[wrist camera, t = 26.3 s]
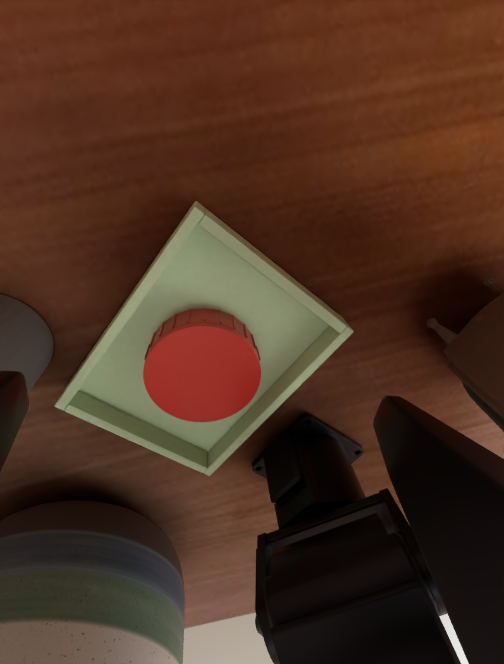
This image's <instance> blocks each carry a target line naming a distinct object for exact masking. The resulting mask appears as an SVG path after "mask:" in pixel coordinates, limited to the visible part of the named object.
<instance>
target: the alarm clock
mask: <svg viewBox="0 0 504 664" xmlns="http://www.w3.org/2000/svg"><path fill="white" fill-rule="evenodd" d="M484 285H485V286H486V287H490V288H491V289H492V290H493V292H494V293H495V294H496V295H497V298H495V299H494V300H493V301H491V302H490V303H489V304H487V305H486V306H485V307H484V308H483V309H481V310H480V311H479V312H478V313H477V314H476V315H475V316H474V317H473V318H472V319H471V320H470V321H469V323H468V324H467V325H466V326H465V327H464V328H463V329H462V331H461V332H460V333H459V334H458V335H457V334H456V333H454V332H452V331H450V330H449V329H447V328H445V327H443V326H442V325H440V324H438V321H437V320H436V319H435V318H430V319H428V320H427V323H426V324H427V326H428V327H430V328H433V329H434V330H435V331H436V332H437V333H438V335H439V336H440V337H441V338H442V339H443V340H444V341H445V343H446V344H447V345H448V346H447V347H446V348H445V350H444V351H443V352H444V354H445V355H446V356H447V358H448V367H449V368H450V369H451V370H452V371H453V372H454V373H455V374H456V375H457V376H458V377H459V378H460V379H461V380H462V382H463V386H464V388H465V390H466V391H467V393H468V394H469V396H470V397H471V398H472V399H473V400H474V401H475V403H476V404H477V405H478V406H479V407H480V408H481V409H482V410H483V411H484V412H485V413H486V414H487V415H488V416H489V417H490V418H491V419H492V420H493V421H494V422H495V423H496V424H497V425H498V426H499V427H500V428H501V429H502V430H503V431H504V287H502V286H501V285H499V284H497V283H495V279H494V278H492V277H488V278H486V279H485V280H484Z"/></svg>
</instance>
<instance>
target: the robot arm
mask: <svg viewBox="0 0 504 664" xmlns="http://www.w3.org/2000/svg"><path fill="white" fill-rule="evenodd" d="M28 405H29V398H28V392H27V386H26V379H25V376H24V374H23V373H22V372H20V371H6V370H4V371H0V471H1V469H2V466H3V464H4V462H5V460H6V458H7V456H8V453H9V451H10V449H11V446H12V444H13V442H14V440H15V437H16V435H17V433H18V430H19V428H20V426H21V424H22V421H23V419H24V417H25V415H26V412H27V410H28ZM306 420H308V421H306ZM305 421H306V422H305ZM374 429H375V432H376V436H377V439H378V442H379V445H380V448H381V452H382V455H383V458H384V461H385V464H386V468H387V471H388V474H389V476H390V479H391V482H392V484H393V487H394V489H395V491H396V494H397V496H398V499H399V501H400V503H401V506H402V508H403V510H404V513H405V515H406V517H407V520H408V522H409V524H410V526H409V524H408V522H407V521H406V519H405V517H404V515H403V514H402V512H401V510H400V509H399V507H398V505H397V504H396V502H395V500H394V499H393V497H392V495H391V494H390V492H389V490H388V489H387V488H386V489H383V490H381V491H379V493H377V494H374V495H372V496H369V497H366V496H365V494H364V492H363V490H362V488H361V485H360V483H359V481H358V479H357V477H356V474H355V472H354V470H353V468H352V466H351V464H352V463H353V462H354V461H355V460H356V459H358V458H359V457H360V456H361V455H362V454H363V452H364V450H363V448H362V446H361V445H360V444H358V443H357V442H355V441H353V440H352V439H350V438H348V437H347V436H345V435H344V434H342V433H340V432H339V431H337V430H335V429H334V428H332V427H330V426H329V425H327V424H326V423H324V422H322V421H321V420H319V419H317V418H316V417H314V416H312V415H311V414H303V415H302V416H301V417H299V418H298V419H297V420H296V421H295V422H294V423H293V424H292V425H291V426H290V427H289V428H288V429H287V430H286V431H285V432H284V433H283V434H282V435H281V436H280V437H279V438H278V439H277V440H276V441H275V442H273V443H272V444H271V445H270V446H269V447H268V448H267V449H266V450H265V451H264V452H263V453H262V454H261V455H260V456H259V457H258V458H257V459H256V460H255V461H254V462H253V463H252V470H253V472H255V473H257V474H259V475H261V476H263V477H265V478H267V482H268V488H269V493H270V499H271V502H272V503H274V505H275V511H276V516H277V521H278V527H279V530H276V531H273V532H271V533H268V534H267V533H263V534H261V535H258V541H257V549H256V599H255V610H256V619H255V624H256V629H257V631H258V633H259V634H261V635H262V636H263V637H264V641H265V644H266V647H267V650H268V652H269V655H270V657H271V659H272V661H273V663H274V664H461V663H460V661H459V659H458V657H457V654H456V652H455V650H454V648H453V646H452V643H451V641H450V639H449V637H448V635H447V633H446V630H445V628H444V626H443V624H442V622H441V620H440V617H439V616H441V615H444V614H447V613H448V616H449V618H450V620H451V623H452V625H453V627H454V630H455V632H456V634H457V637H458V639H459V641H460V644H461V646H462V648H463V651H464V653H465V655H466V658H467V660H468V663H469V664H504V459H503V458H501V457H499V456H498V455H496V454H494V453H493V452H491V451H489V450H488V449H486V448H484V447H483V446H481V445H479V444H478V443H476V442H474V441H473V440H471V439H469V438H468V437H466V436H464V435H463V434H461V433H459V432H458V431H456V430H454V429H453V428H451V427H449V426H448V425H446V424H445V423H443V422H441V421H440V420H438V419H436V418H435V417H433V416H431V415H430V414H428V413H426V412H425V411H423V410H421V409H420V408H418V407H416V406H415V405H413V404H411V403H410V402H408V401H406V400H405V399H403V398H401V397H399V396H385V397H384V398H383V399H382V401H381V403H380V405H379V408H378V410H377V413H376V415H375V418H374ZM258 466H259V467H258Z"/></svg>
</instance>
